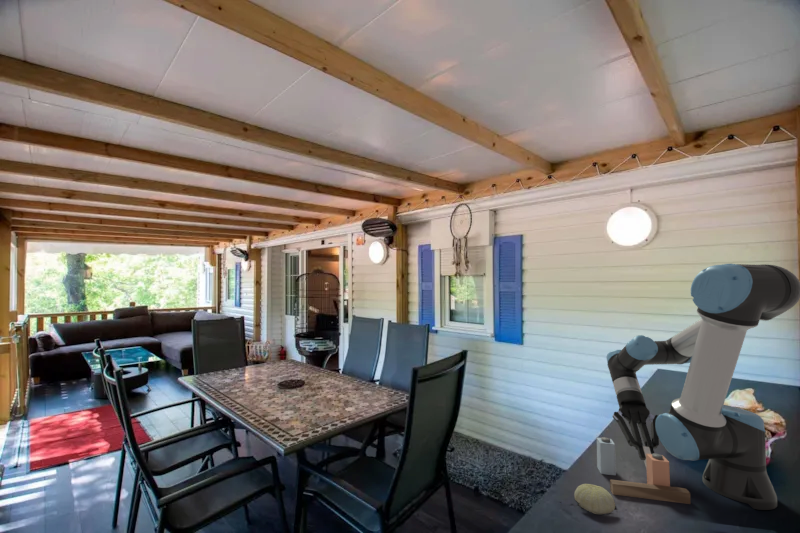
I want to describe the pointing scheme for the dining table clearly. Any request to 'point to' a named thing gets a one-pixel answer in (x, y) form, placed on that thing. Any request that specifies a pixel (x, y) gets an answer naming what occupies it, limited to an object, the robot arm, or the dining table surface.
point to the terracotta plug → (657, 470)
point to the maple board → (650, 491)
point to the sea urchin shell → (594, 499)
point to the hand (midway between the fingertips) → (651, 472)
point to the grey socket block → (606, 456)
